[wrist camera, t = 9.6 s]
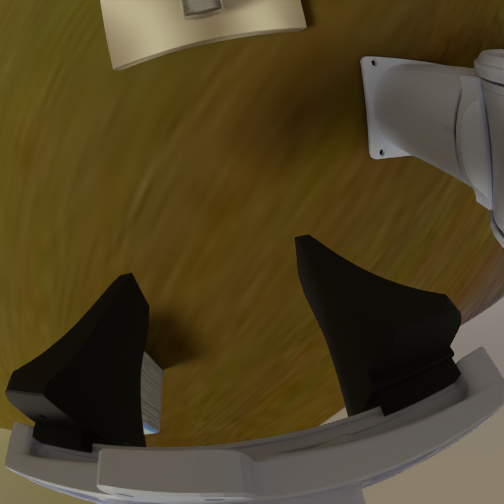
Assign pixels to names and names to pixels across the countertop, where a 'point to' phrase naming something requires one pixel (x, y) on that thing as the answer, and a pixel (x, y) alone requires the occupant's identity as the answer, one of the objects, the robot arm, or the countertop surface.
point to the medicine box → (151, 394)
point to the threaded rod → (200, 8)
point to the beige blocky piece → (188, 26)
